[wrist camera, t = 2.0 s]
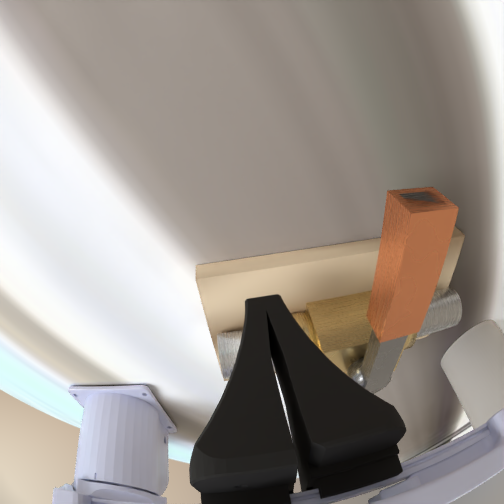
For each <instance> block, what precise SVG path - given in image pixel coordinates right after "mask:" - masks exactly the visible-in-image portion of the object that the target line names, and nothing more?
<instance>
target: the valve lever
mask: <svg viewBox="0 0 504 504" xmlns="http://www.w3.org/2000/svg"><path fill="white" fill-rule="evenodd" d="M458 209H459V208H458V207H457V206H456V205H455V204H453V203H452V202H451V201H450V200H448V199H447V198H446V197H445V196H444V195H442V194H441V193H440V192H438V191H437V190H436V189H435V188H433V187H426V188H413V189H402V190H390V191H387V198H386V206H385V214H384V221H383V228H382V235H381V241H380V248H379V254H378V259H377V265H376V271H375V276H374V281H373V286H372V291H371V296H370V301H369V306H368V310H367V315H366V317H367V319H368V320H369V322H370V324H371V326H372V331H371V335H370V339H369V342H368V346H367V349H366V353H365V356H364V357H362V358H360V359H358V360H356V361H355V362H354V363H352V364H351V365H350V366H349V368H348V370H347V375H348V376H349V377H350V378H352V379H353V380H354V381H356V382H357V383H358V384H359V385H361V386H362V387H364V388H365V389H367V390H368V391H369V392H371V393H372V394H374V393H376V392H378V391H380V390H381V389H383V388H384V387H386V386H387V385H388V383H389V382H390V380H391V375H392V373H393V370H394V368H395V366H396V364H397V361H398V359H399V357H400V354H401V352H402V349H403V347H404V344H405V342H406V339H407V337H408V335H410V334H413V333H417V332H419V331H420V329H421V326H422V324H423V321H424V319H425V316H426V313H427V311H428V308H429V306H430V303H431V300H432V297H433V295H434V292H435V289H436V286H437V283H438V280H439V277H440V274H441V271H442V268H443V264H444V261H445V258H446V255H447V251H448V248H449V244H450V241H451V237H452V233H453V229H454V226H455V222H456V218H457V213H458Z"/></svg>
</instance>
